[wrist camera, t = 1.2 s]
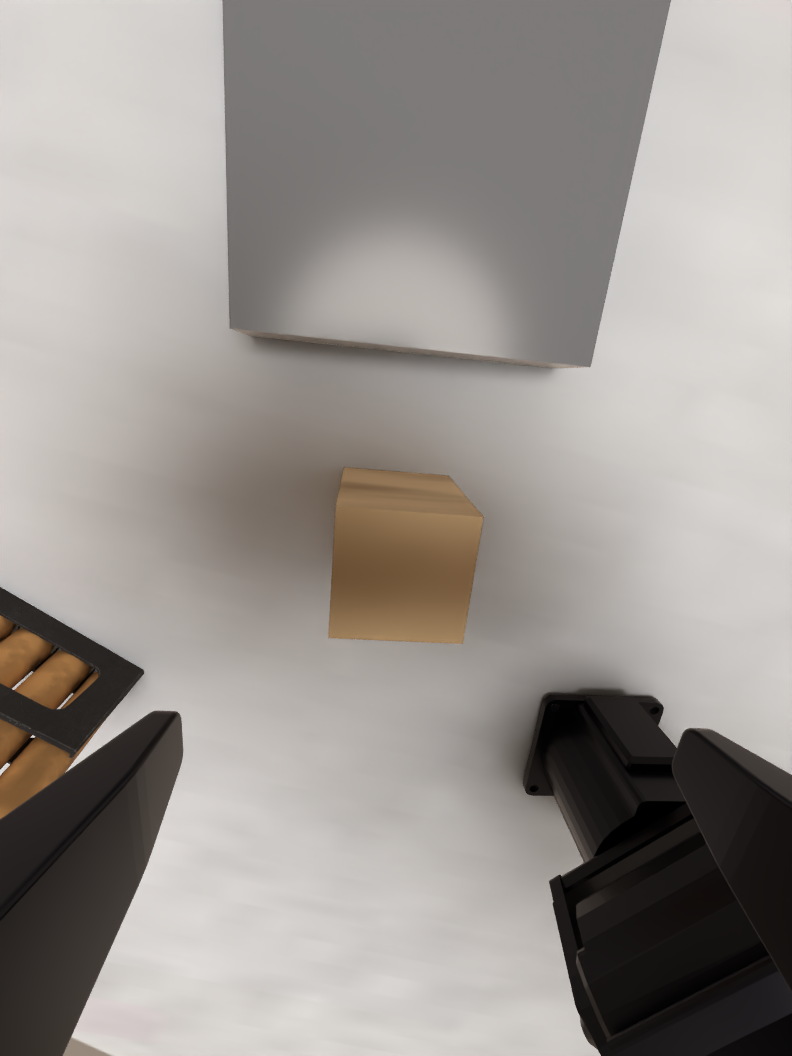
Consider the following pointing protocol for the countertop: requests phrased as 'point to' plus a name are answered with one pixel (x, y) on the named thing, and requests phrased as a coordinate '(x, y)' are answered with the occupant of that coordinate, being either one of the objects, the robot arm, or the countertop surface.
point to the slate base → (432, 170)
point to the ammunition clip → (50, 697)
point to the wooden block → (402, 557)
